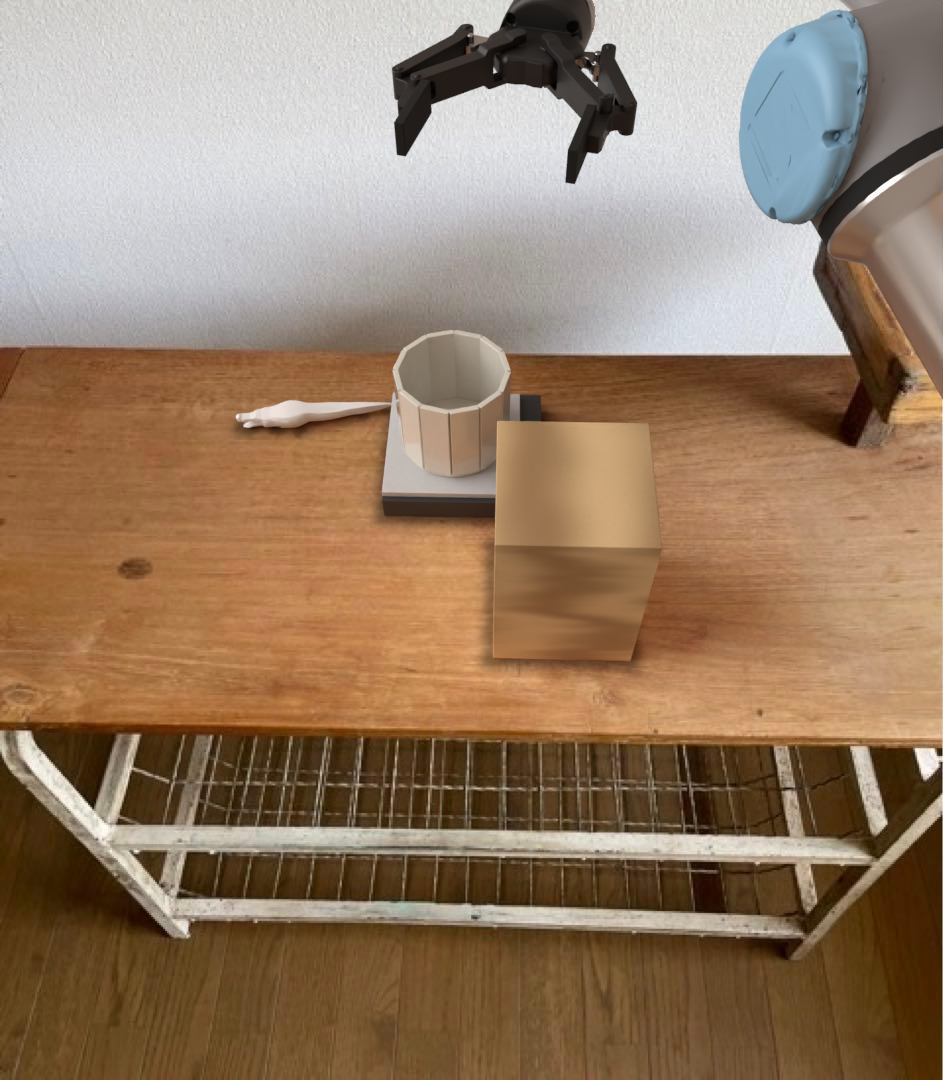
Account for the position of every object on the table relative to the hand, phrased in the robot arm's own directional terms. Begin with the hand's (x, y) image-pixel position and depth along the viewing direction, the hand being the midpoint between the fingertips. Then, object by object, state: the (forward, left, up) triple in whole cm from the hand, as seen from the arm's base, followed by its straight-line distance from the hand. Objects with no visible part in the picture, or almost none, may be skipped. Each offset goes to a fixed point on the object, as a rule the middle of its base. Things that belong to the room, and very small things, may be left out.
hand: (483, 153), depth 70 cm
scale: (0, +10, -25) cm, 27 cm away
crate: (-13, +22, -25) cm, 36 cm away
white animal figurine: (+14, +8, -26) cm, 30 cm away
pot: (0, +9, -23) cm, 24 cm away
